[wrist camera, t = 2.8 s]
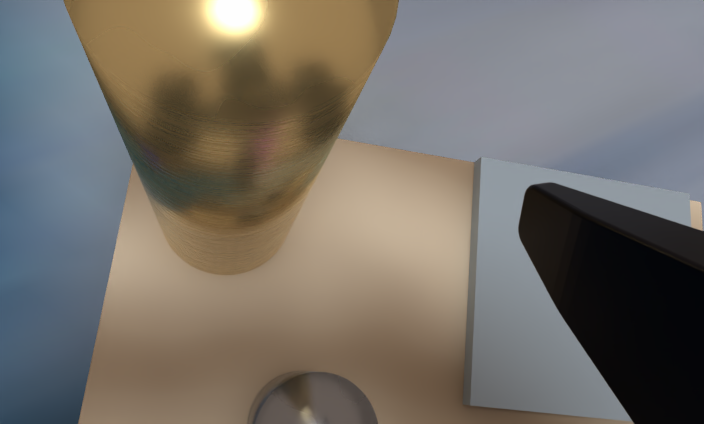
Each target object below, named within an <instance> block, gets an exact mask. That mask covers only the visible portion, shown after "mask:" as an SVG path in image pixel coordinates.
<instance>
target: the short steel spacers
mask: <svg viewBox="0 0 704 424" xmlns="http://www.w3.org/2000/svg"><path fill="white" fill-rule="evenodd" d="M247 424H378V421H377V417H376V414H375V411H374V409H373V407H372V405H371V403H370V401H369V400H368V398H367V397H366V395H365V394H364V393H363V392H362V391H361V390H360V389H359V388H358V387H357V386H356V385H355V384H354V383H352V382H351V381H349V380H348V379H345V378H343V377H341V376H339V375H336V374H332V373H327V372H315V371H292V372H287V373H284V374H282V375H279V376H277V377H275V378H274V379H272V380H271V381H269V382H268V383H267V384H266V385H265V386H264V387H263V388H262V389H261V390H260V391H259V392H258V394H257V395H256V397H255V399H254V401H253V403H252V405H251V407H250V410H249V414H248V419H247Z"/></svg>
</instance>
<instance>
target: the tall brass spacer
mask: <svg viewBox="0 0 704 424" xmlns="http://www.w3.org/2000/svg"><path fill="white" fill-rule="evenodd" d="M398 2H399V0H64V3H65V6H66V9H67V11H68V13H69V16H70V18H71V20H72V23H73V25H74V27H75V29H76V32H77V34H78V36H79V39H80V41H81V43H82V46H83V48H84V50H85V53H86V55H87V57H88V60H89V62H90V64H91V67H92V69H93V71H94V74H95V76H96V78H97V81H98V83H99V85H100V88H101V90H102V92H103V95H104V97H105V99H106V102H107V104H108V106H109V109H110V111H111V113H112V116H113V118H114V120H115V123H116V125H117V127H118V130H119V132H120V134H121V136H122V139H123V141H124V143H125V146H126V148H127V150H128V153H129V155H130V157H131V160H132V162H133V164H134V167H135V169H136V171H137V174H138V176H139V178H140V181H141V183H142V185H143V188H144V190H145V192H146V195H147V197H148V199H149V202H150V204H151V206H152V209H153V211H154V213H155V216H156V218H157V220H158V223H159V225H160V227H161V230H162V232H163V234H164V236H165V238H166V241H167V242H168V244H169V246H170V247H171V249H172V250H173V251H174V252H175V253H176V254H177V256H179V257H180V258H181V259H182V260H183V261H184V262H186V263H187V264H189V265H190V266H192V267H194V268H196V269H198V270H200V271H203V272H206V273H210V274H215V275H236V274H241V273H245V272H248V271H251V270H253V269H255V268H258V267H260V266H261V265H263V264H264V263H266V262H267V261H268V260H269V259H271V258H272V257H273V256H274V255H275V254H276V253H277V251H278V250H279V249H280V247H281V246H282V245H283V243H284V241H285V239H286V237H287V235H288V233H289V231H290V229H291V227H292V225H293V224H294V222H295V220H296V218H297V216H298V214H299V212H300V210H301V208H302V206H303V204H304V202H305V200H306V198H307V196H308V194H309V192H310V190H311V188H312V186H313V184H314V183H315V181H316V179H317V177H318V175H319V173H320V171H321V169H322V167H323V165H324V163H325V161H326V159H327V157H328V155H329V153H330V151H331V149H332V147H333V145H334V144H335V142H336V140H337V138H338V136H339V134H340V132H341V130H342V128H343V126H344V124H345V122H346V120H347V118H348V116H349V114H350V112H351V110H352V108H353V106H354V105H355V103H356V101H357V99H358V97H359V95H360V93H361V91H362V89H363V87H364V85H365V83H366V81H367V79H368V77H369V75H370V73H371V71H372V69H373V67H374V66H375V64H376V62H377V60H378V58H379V56H380V54H381V52H382V50H383V48H384V46H385V44H386V42H387V40H388V38H389V36H390V34H391V31H392V28H393V25H394V22H395V19H396V14H397V8H398Z"/></svg>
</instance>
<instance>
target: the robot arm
mask: <svg viewBox="0 0 704 424" xmlns="http://www.w3.org/2000/svg"><path fill="white" fill-rule="evenodd" d="M518 233H519V237H520V240H521V242H522V244H523V246H524V248H525V250H526V252H527V254H528V256H529V258H530V259H531V261H532V263H533V265H534V267H535V269H536V271H537V273H538V275H539V276H540V278H541V280H542V282H543V284H544V286H545V288H546V290H547V292H548V293H549V295H550V297H551V299H552V301H553V303H554V304H555V306H556V308H557V310H558V311H559V313H560V314H561V316H562V318H563V319H564V321H565V322H566V324H567V325H568V327H569V328H570V330H571V331H572V333H573V334H574V336H575V337H576V339H577V340H578V341H579V343H580V344H581V346H582V347H583V349H584V350H585V352H586V353H587V355H588V356H589V358H590V359H591V361H592V362H593V364H594V365H595V367H596V368H597V370H598V371H599V373H600V374H601V375H602V377H603V378H604V380H605V381H606V383H607V384H608V386H609V387H610V389H611V390H612V392H613V393H614V395H615V396H616V398H617V399H618V401H619V402H620V404H621V405H622V407H623V408H624V410H625V411H626V412H627V414H628V415H629V417H630V418H631V420H632V421H633V423H634V424H704V231H702V230H698V229H695V228H692V227H689V226H686V225H683V224H680V223H677V222H674V221H671V220H668V219H665V218H661V217H658V216H655V215H652V214H649V213H646V212H643V211H640V210H637V209H634V208H631V207H628V206H624V205H621V204H618V203H615V202H612V201H609V200H606V199H603V198H600V197H597V196H594V195H591V194H587V193H584V192H581V191H578V190H575V189H572V188H569V187H566V186H563V185H560V184H557V183H553V182H547V183H540V184H533V185H530V186H529V187H528V188H527V189H526V191H525V194H524V199H523V204H522V209H521V214H520V219H519V225H518Z"/></svg>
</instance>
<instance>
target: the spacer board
mask: <svg viewBox="0 0 704 424" xmlns="http://www.w3.org/2000/svg"><path fill="white" fill-rule="evenodd" d="M473 178H474V162H468V161H463V160H457V159H451V158H445V157H440V156H434V155H428V154H423V153H417V152H411V151H406V150H400V149H394V148H388V147H383V146H377V145H371V144H366V143H360V142H354V141H349V140H343V139H337V140H336V142H335V144H334V145H333V147H332V149H331V151H330V153H329V155H328V157H327V159H326V161H325V163H324V165H323V167H322V169H321V171H320V173H319V175H318V177H317V179H316V181H315V183H314V184H313V186H312V188H311V190H310V192H309V194H308V196H307V198H306V200H305V202H304V204H303V206H302V208H301V210H300V212H299V214H298V216H297V218H296V220H295V222H294V224H293V225H292V227H291V229H290V231H289V233H288V235H287V237H286V239H285V241H284V243H283V245H282V246H281V247H280V249H279V250H278V251H277V253H276V254H275V255H274V256H273V257H272V258H271V259H269V260H268V261H267V262H266V263H264V264H263V265H261V266H260V267H258V268H255V269H253V270H251V271H248V272H245V273H241V274H236V275H215V274H210V273H206V272H203V271H200V270H198V269H196V268H194V267H192V266H190V265H189V264H187V263H186V262H184V261H183V260H182V259H181V258H180V257H179V256H177V254H176V253H175V252H174V251H173V250H172V249H171V247H170V246H169V244H168V242H167V241H166V238H165V236H164V234H163V232H162V230H161V227H160V225H159V223H158V220H157V218H156V216H155V213H154V211H153V209H152V206H151V204H150V202H149V199H148V197H147V195H146V192H145V190H144V188H143V185H142V183H141V181H140V178H139V176H138V174H137V171H136V169H135V167H134V164H133V166H132V171H131V175H130V180H129V185H128V190H127V194H126V199H125V204H124V209H123V213H122V218H121V223H120V228H119V232H118V237H117V242H116V247H115V251H114V256H113V261H112V266H111V270H110V275H109V280H108V285H107V289H106V294H105V299H104V304H103V308H102V313H101V318H100V323H99V327H98V332H97V337H96V342H95V346H94V351H93V356H92V361H91V365H90V370H89V375H88V380H87V384H86V389H85V394H84V399H83V403H82V408H81V413H80V418H79V422H78V424H247V419H248V414H249V410H250V407H251V405H252V403H253V401H254V399H255V397H256V395H257V394H258V392H259V391H260V390H261V389H262V388H263V387H264V386H265V385H266V384H267V383H268V382H269V381H271V380H272V379H274V378H275V377H277V376H279V375H282V374H284V373H287V372H292V371H315V372H327V373H332V374H336V375H339V376H341V377H343V378H345V379H348V380H349V381H351V382H352V383H354V384H355V385H356V386H357V387H358V388H359V389H360V390H361V391H362V392H363V393H364V394H365V395H366V397H367V398H368V400H369V401H370V403H371V405H372V407H373V409H374V411H375V414H376V417H377V421H378V424H634V423H633V422H632V421H622V420H612V419H602V418H592V417H582V416H571V415H561V414H551V413H541V412H531V411H521V410H511V409H501V408H491V407H481V406H471V405H464V404H463V386H464V365H465V344H466V323H467V302H468V282H469V261H470V240H471V219H472V198H473ZM690 213H691V227H692V228H695V229H698V230H702V231H703V227H702V211H701V202H696V201H691V200H690Z"/></svg>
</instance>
